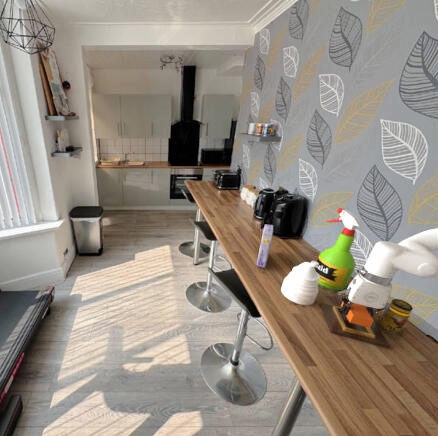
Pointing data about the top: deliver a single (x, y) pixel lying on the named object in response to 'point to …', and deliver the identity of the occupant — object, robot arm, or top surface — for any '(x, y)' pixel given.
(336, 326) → the board
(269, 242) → the cake pan box
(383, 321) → the condiment
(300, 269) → the honey pot
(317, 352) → the top surface
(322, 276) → the spray bottle
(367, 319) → the pad
